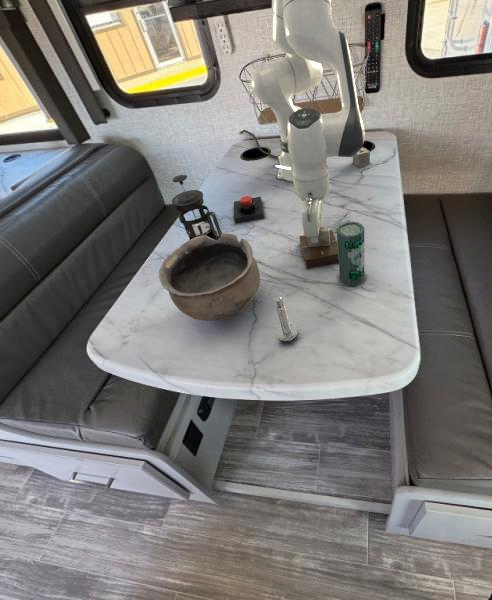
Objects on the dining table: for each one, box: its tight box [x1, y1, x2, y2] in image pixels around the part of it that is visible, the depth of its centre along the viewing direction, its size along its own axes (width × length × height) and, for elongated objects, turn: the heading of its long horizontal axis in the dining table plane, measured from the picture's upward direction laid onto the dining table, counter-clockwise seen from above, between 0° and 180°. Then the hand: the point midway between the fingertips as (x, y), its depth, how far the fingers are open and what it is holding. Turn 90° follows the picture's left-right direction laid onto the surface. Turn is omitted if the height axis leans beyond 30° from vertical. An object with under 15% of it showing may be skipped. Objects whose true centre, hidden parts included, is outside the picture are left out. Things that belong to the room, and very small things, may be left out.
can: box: [336, 221, 365, 286], centre depth 83 cm, size 6×6×15 cm
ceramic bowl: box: [158, 232, 261, 322], centre depth 82 cm, size 22×22×15 cm
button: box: [239, 195, 252, 206], centre depth 116 cm, size 4×4×2 cm
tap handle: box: [308, 226, 330, 247], centre depth 93 cm, size 6×2×5 cm, turn 84°
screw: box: [275, 296, 299, 343], centre depth 72 cm, size 13×5×5 cm
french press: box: [171, 174, 223, 241], centre depth 99 cm, size 12×9×23 cm
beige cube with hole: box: [352, 147, 371, 168], centre depth 134 cm, size 5×5×5 cm
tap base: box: [299, 229, 339, 269], centre depth 96 cm, size 12×10×3 cm
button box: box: [233, 196, 265, 224], centre depth 118 cm, size 12×10×4 cm
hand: (316, 231), depth 93 cm, fingers open, 8 cm apart
